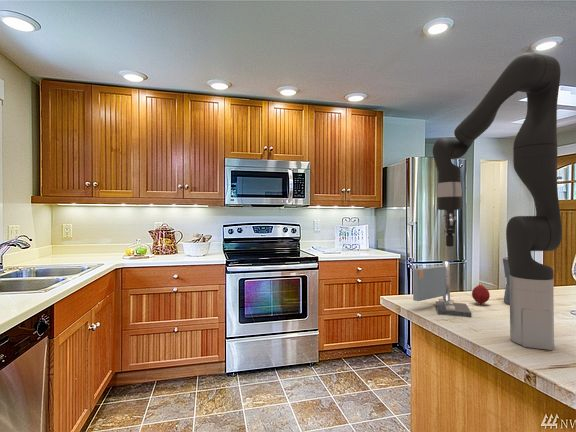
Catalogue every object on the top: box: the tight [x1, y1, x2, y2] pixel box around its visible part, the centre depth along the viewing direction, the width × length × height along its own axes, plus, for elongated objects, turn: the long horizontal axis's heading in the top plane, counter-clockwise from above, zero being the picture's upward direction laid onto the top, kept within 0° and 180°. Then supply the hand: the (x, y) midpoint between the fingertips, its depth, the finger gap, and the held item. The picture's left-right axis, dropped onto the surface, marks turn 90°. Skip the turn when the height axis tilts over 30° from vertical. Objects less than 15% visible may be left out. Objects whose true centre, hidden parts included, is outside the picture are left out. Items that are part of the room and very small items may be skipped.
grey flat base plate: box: [435, 300, 472, 318], centre depth 114 cm, size 12×10×2 cm
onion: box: [471, 282, 491, 305], centre depth 122 cm, size 6×6×8 cm
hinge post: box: [438, 260, 455, 303], centre depth 124 cm, size 5×5×16 cm
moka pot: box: [502, 256, 510, 306], centre depth 123 cm, size 10×15×20 cm, turn 161°
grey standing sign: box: [412, 265, 446, 302], centre depth 118 cm, size 16×3×11 cm, turn 121°
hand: (449, 246), depth 112 cm, fingers closed
